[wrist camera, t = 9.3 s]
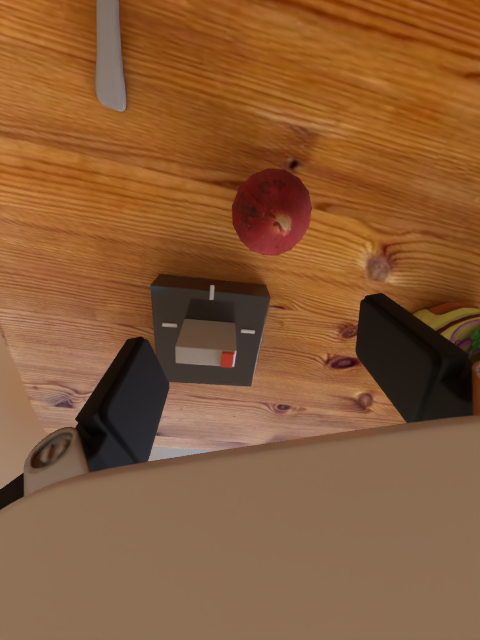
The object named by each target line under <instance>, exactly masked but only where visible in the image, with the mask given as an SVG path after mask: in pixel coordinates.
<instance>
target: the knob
mask: <svg viewBox="0 0 480 640" xmlns="http://www.w3.org/2000/svg"><path fill="white" fill-rule="evenodd" d="M236 352H237V350H236V330H235V323H229V322H218V321H207V320H195V319H184V321H183V324H182V327H181V331H180V334H179V337H178V340H177V343H176V346H175V361H176V363H184V364H198V365H213V366H220V367H229V368H232V367H234V364H235V358H236Z"/></svg>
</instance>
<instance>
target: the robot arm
mask: <svg viewBox="0 0 480 640" xmlns="http://www.w3.org/2000/svg"><path fill="white" fill-rule="evenodd" d="M356 354H357V357H358V358H359V360H360V361H361V362H362V364H363V365H364V366H365V368H366V369H367V370H368V372H369V373H370V374H371V376H372V377H373V378H374V380H375V381H376V382H377V384H378V385H379V386H380V388H381V389H382V390H383V392H384V393H385V394H386V396H387V397H388V398H389V400H390V401H391V402H392V404H393V405H394V406H395V408H396V409H397V410H398V412H399V413H400V414H401V416H402V417H403V418H404V420H405V421H406V422H407V423H404V424H397V425H390V426H383V427H376V428H369V429H362V430H355V431H348V432H341V433H334V434H327V435H320V436H313V437H307V438H300V439H293V440H286V441H280V442H273V443H266V444H260V445H253V446H246V447H240V448H233V449H226V450H220V451H213V452H207V453H200V454H194V455H187V456H181V457H175V458H168V459H162V460H155V461H149V462H148V459H149V456H150V453H151V449H152V446H153V442H154V439H155V435H156V432H157V429H158V425H159V422H160V418H161V415H162V411H163V408H164V404H165V401H166V398H167V394H168V391H169V382H168V380H167V378H166V375H165V373H164V371H163V369H162V367H161V365H160V363H159V361H158V359H157V357H156V355H155V353H154V351H153V349H152V347H151V345H150V343H149V341H148V340H147V339H144V338H143V337H137V338H131V339H128V340H127V341H126V342H125V344H124V345H123V347H122V348H121V350H120V351H119V353H118V354H117V356H116V357H115V359H114V360H113V362H112V364H111V365H110V367H109V368H108V370H107V371H106V373H105V374H104V376H103V377H102V379H101V380H100V382H99V383H98V385H97V387H96V388H95V390H94V391H93V393H92V394H91V396H90V397H89V399H88V400H87V402H86V403H85V405H84V406H83V408H82V410H81V411H80V413H79V414H78V416H77V417H76V419H75V420H76V421H77V422H78V424H77V426H76V428H73V427H64V428H61V429H58V430H56V431H55V432H53V433H51V434H49V435H48V436H47V437H45V438H44V439H42V440H41V441H40V442H39V443H38V444H37V445H36V446H35V447H34V448H33V450H32V451H31V452H30V453H29V455H28V457H27V459H26V460H25V464H24V473H23V474H21V475H20V476H18V477H17V478H16V479H14V480H13V481H11V482H10V483H9V484H7V485H6V486H5V487H3V488H2V489H0V640H480V361H477V362H476V363H472V362H471V361H469V360H468V357H469V354H468V353H466V352H465V351H464V350H462V349H461V348H459V347H458V346H457V345H455V344H454V343H452V342H451V341H449V340H448V339H447V338H445V337H444V336H442V335H441V334H440V333H438V332H437V331H435V330H434V329H432V328H431V327H430V326H428V325H427V324H425V323H424V322H423V321H421V320H420V319H418V318H417V317H416V316H414V315H413V314H411V313H410V312H408V311H407V310H406V309H404V308H403V307H401V306H400V305H399V304H397V303H396V302H394V301H393V300H391V299H390V298H389V297H387V296H386V295H384V294H383V293H378V294H372V295H367V296H365V298H364V300H361V303H360V312H359V322H358V332H357V341H356Z"/></svg>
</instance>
